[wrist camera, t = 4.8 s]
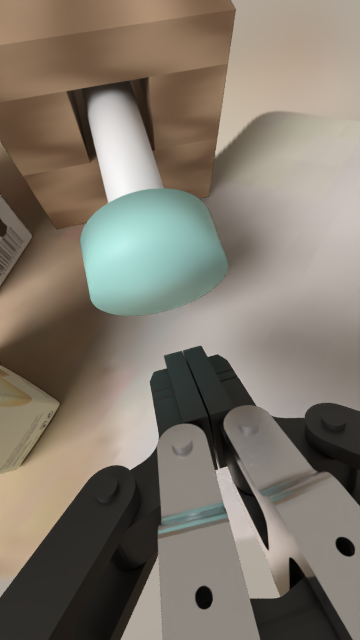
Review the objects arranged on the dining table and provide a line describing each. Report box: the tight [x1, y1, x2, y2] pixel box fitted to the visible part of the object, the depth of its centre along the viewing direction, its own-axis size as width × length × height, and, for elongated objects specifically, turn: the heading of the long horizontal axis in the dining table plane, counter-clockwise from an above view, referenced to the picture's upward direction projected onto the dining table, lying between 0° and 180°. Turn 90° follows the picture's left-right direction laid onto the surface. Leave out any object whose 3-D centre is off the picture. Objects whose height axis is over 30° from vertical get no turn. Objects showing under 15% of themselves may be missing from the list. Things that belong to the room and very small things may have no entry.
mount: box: [0, 0, 236, 229], centre depth 18 cm, size 12×7×11 cm, turn 105°
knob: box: [80, 80, 228, 316], centre depth 15 cm, size 6×14×6 cm, turn 15°
